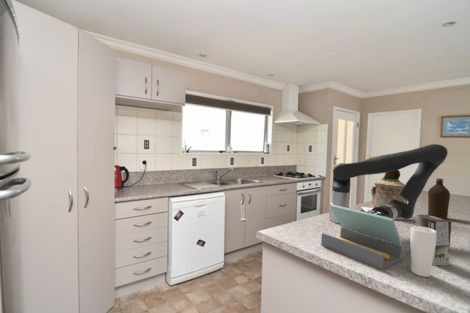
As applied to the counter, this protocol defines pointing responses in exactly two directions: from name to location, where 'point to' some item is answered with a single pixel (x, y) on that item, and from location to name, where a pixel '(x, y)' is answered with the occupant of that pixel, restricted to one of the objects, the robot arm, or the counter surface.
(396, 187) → the cookie jar
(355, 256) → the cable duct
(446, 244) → the coffee box
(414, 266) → the white tapered cylinder
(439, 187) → the olive oil
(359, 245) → the wooden dowel rod
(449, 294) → the counter surface
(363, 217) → the panel
